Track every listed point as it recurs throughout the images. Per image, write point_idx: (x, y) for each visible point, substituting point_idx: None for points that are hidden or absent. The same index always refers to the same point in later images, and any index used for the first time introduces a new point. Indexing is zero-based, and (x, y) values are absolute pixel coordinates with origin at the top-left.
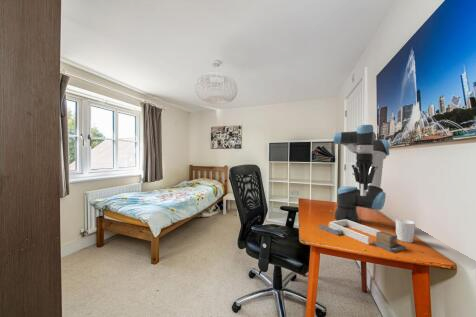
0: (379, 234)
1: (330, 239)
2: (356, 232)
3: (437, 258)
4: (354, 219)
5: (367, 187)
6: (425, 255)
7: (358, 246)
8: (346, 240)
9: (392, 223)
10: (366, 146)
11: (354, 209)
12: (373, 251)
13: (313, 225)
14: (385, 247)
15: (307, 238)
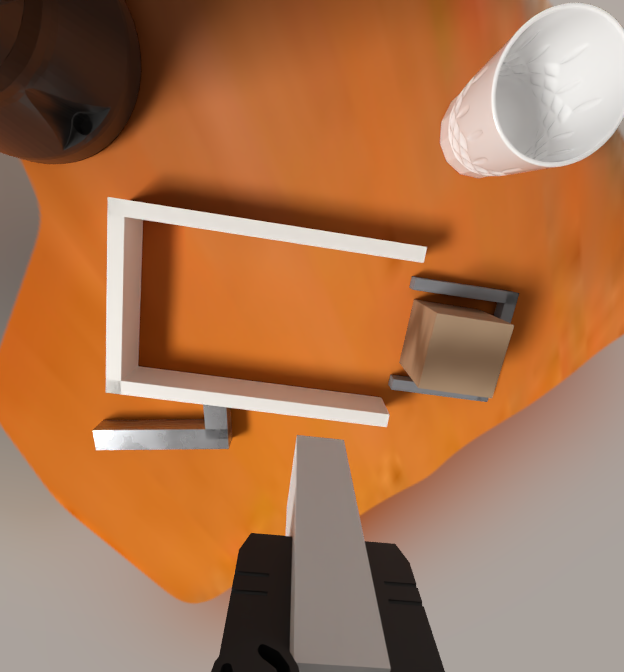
0: (433, 387)
1: (248, 509)
2: (313, 410)
3: None
4: (120, 87)
5: (418, 609)
6: (590, 289)
7: (362, 467)
8: None
9: None
10: None
11: (41, 4)
12: (423, 458)
13: (55, 426)
14: (455, 397)
15: (189, 586)
